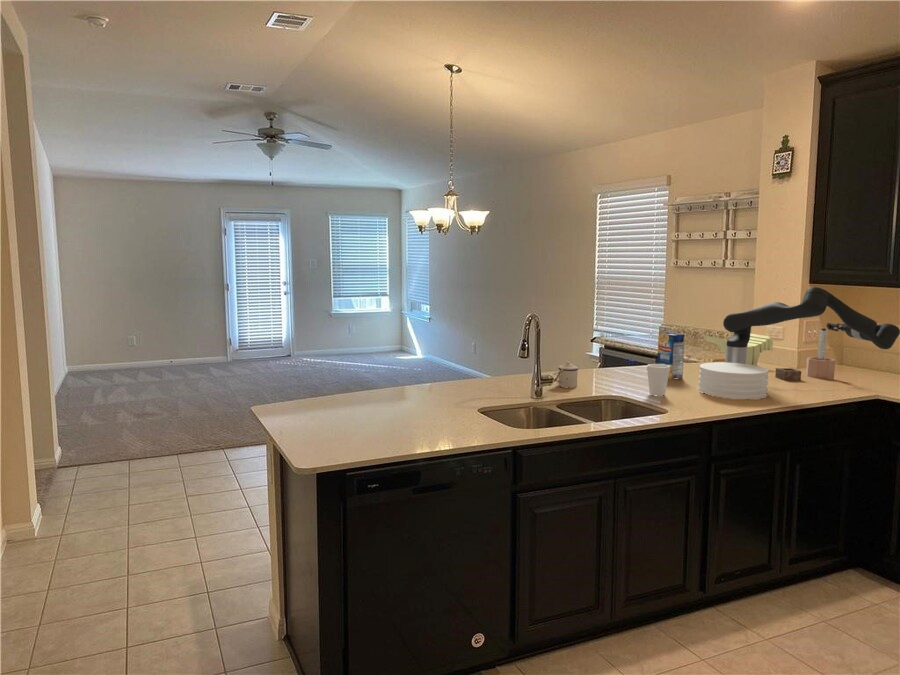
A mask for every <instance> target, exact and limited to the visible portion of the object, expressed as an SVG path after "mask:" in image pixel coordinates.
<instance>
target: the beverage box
mask: <svg viewBox="0 0 900 675" xmlns="http://www.w3.org/2000/svg"><path fill="white" fill-rule="evenodd" d="M685 337H686V335H685V334H683V333H677V332H669V331H667V332H665V331H663V332H658V338H657V340H658V341H657V343H658V344H657V360H656V364H664V365H669V366H670V372H669V376H668V378H670V379H669V380H671V379H673V380H675V379H674V378H683V374H684V359H685V358H684V357H685V356H684V355H685Z"/></svg>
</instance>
